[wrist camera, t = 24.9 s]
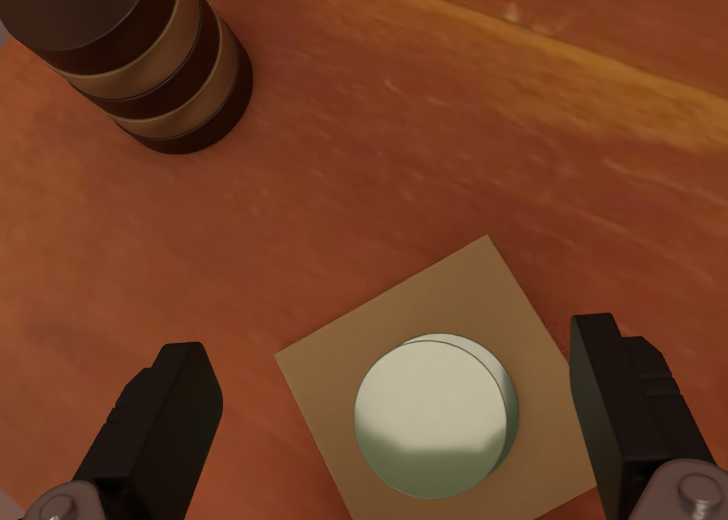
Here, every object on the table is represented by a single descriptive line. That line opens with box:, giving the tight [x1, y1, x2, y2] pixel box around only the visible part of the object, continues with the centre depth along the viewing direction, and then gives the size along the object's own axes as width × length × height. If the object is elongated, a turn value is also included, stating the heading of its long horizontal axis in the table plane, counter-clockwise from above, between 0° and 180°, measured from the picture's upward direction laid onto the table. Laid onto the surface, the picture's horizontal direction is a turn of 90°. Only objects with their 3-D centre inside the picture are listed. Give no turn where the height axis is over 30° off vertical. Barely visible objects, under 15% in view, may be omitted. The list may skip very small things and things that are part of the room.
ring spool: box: [353, 333, 519, 499], centre depth 24 cm, size 7×7×8 cm
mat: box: [274, 234, 597, 520], centre depth 28 cm, size 12×12×1 cm
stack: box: [0, 0, 252, 154], centre depth 29 cm, size 8×8×10 cm
